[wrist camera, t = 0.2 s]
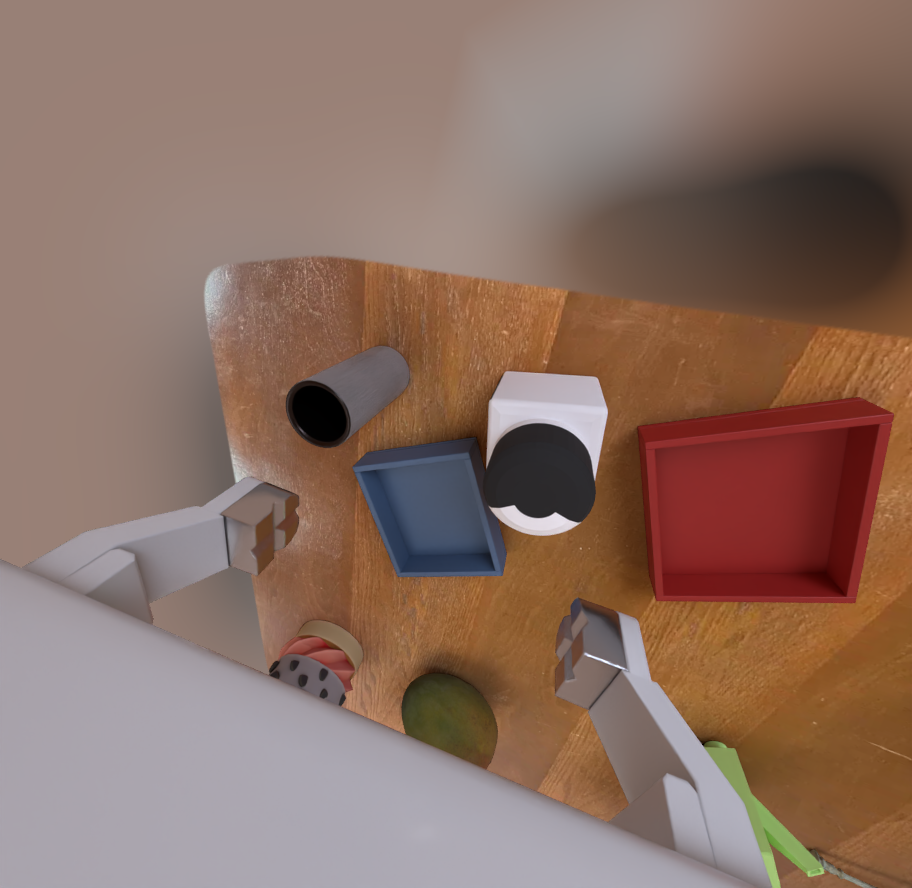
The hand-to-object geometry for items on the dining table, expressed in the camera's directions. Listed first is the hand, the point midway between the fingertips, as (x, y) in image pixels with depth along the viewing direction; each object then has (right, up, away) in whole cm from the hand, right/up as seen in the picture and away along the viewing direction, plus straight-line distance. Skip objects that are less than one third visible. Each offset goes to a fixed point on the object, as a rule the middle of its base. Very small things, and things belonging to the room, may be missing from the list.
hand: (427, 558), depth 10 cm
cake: (-17, -25, +42) cm, 52 cm away
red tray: (+23, -1, +19) cm, 30 cm away
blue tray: (-1, -3, +26) cm, 27 cm away
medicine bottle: (+8, +6, +20) cm, 22 cm away
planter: (-5, +10, +22) cm, 24 cm away
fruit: (+1, -29, +39) cm, 49 cm away
